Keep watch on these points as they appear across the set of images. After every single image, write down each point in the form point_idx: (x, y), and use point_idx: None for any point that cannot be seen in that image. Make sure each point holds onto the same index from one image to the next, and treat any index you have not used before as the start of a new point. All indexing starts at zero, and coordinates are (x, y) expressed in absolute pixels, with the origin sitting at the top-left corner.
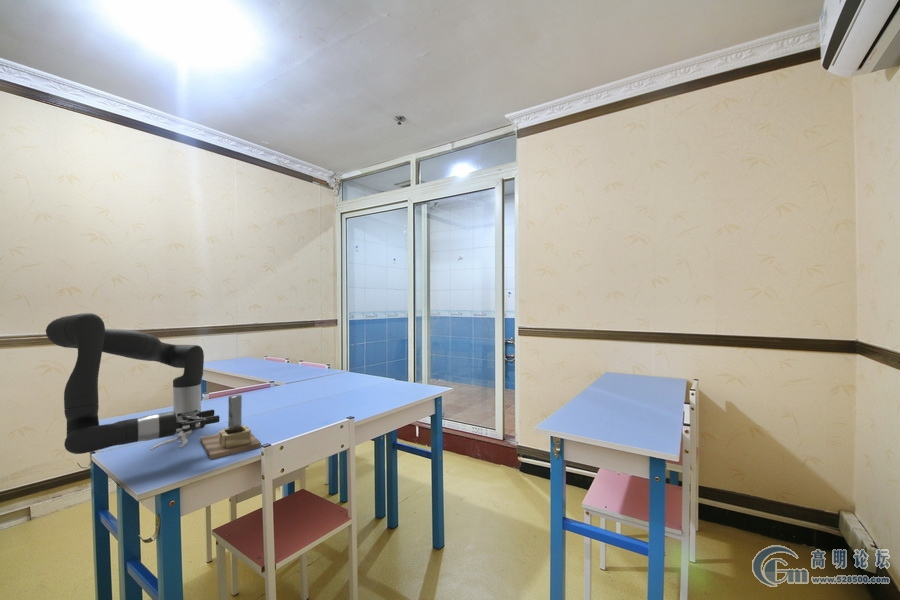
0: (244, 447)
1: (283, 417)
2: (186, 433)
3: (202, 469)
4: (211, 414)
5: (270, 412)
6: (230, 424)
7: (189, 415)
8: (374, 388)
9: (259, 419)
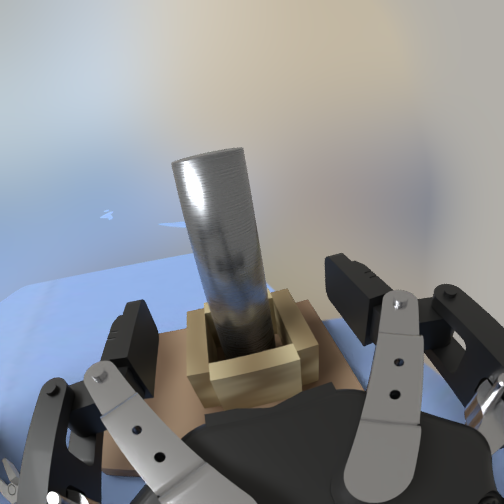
0: (326, 333)
1: (104, 287)
2: (15, 479)
3: (462, 415)
4: (151, 335)
5: (51, 304)
6: (259, 306)
7: (189, 462)
8: (105, 217)
9: (67, 321)
